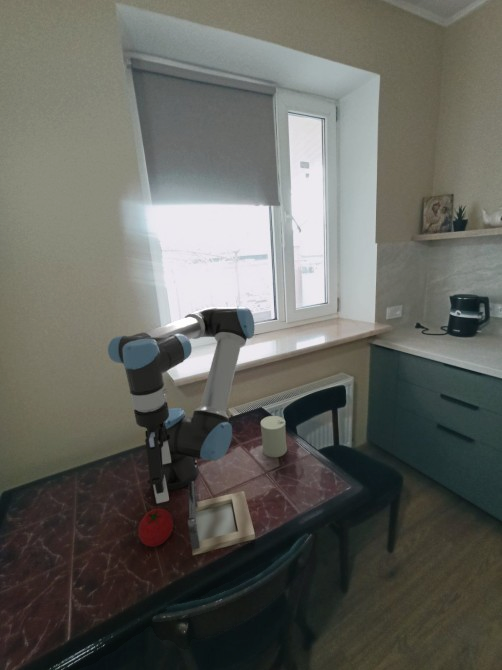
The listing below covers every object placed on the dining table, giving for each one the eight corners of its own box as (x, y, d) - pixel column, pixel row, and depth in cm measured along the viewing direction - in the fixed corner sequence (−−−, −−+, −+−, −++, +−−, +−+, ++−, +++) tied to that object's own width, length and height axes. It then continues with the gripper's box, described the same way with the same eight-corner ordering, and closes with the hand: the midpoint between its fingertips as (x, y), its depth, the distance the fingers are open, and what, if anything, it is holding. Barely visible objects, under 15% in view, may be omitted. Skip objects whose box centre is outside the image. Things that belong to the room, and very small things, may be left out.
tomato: (173, 549, 75) (168, 524, 73) (137, 557, 74) (131, 532, 72) (176, 520, 83) (172, 497, 81) (144, 527, 82) (139, 503, 80)
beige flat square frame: (192, 555, 73) (191, 550, 72) (191, 507, 87) (190, 503, 87) (255, 538, 76) (254, 533, 75) (244, 495, 90) (243, 490, 90)
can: (288, 456, 106) (286, 427, 103) (262, 458, 106) (260, 429, 103) (285, 441, 115) (284, 413, 112) (262, 442, 115) (260, 415, 112)
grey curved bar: (192, 555, 71) (187, 524, 69) (191, 501, 87) (187, 475, 85) (199, 553, 72) (194, 522, 69) (197, 500, 88) (193, 473, 85)
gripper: (163, 430, 58) (179, 516, 63) (169, 381, 81) (180, 447, 87) (123, 438, 56) (142, 525, 62) (141, 386, 80) (154, 453, 86)
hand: (164, 480), depth 74 cm, fingers open, 13 cm apart
